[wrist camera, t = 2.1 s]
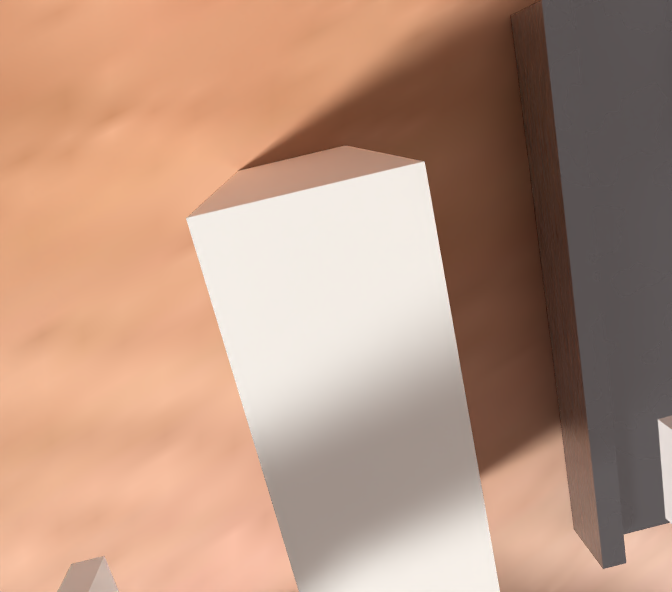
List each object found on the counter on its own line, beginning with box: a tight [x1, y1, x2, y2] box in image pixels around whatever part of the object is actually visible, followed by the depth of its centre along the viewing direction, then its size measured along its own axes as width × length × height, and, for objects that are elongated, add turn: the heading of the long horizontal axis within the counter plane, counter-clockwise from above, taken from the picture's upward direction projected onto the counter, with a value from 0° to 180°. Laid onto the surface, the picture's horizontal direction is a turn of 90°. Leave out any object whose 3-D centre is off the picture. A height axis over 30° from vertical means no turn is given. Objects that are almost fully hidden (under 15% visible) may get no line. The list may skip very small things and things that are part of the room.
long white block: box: [186, 145, 500, 592], centre depth 17 cm, size 16×4×12 cm, turn 13°
